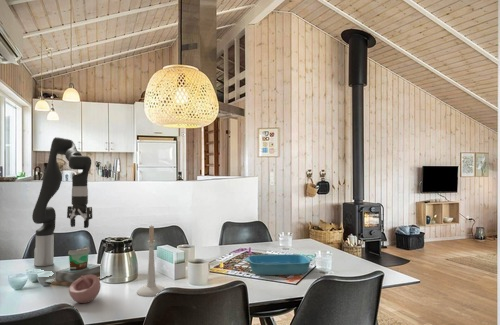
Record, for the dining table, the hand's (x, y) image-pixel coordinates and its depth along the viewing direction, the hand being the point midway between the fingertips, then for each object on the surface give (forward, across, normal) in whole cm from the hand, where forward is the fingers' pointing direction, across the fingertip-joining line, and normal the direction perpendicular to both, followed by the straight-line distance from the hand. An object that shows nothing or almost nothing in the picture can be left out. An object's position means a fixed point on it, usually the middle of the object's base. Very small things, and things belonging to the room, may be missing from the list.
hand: (79, 227), depth 192 cm
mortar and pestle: (+26, +28, -25) cm, 46 cm away
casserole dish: (+26, +90, +50) cm, 106 cm away
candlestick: (+26, +46, -4) cm, 53 cm away
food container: (+21, +2, 0) cm, 21 cm away
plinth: (+26, 0, 0) cm, 26 cm away
